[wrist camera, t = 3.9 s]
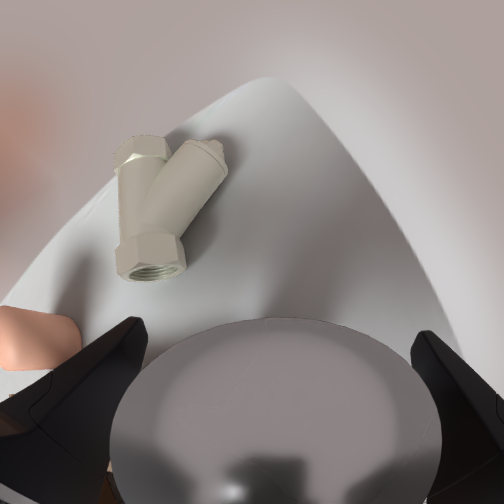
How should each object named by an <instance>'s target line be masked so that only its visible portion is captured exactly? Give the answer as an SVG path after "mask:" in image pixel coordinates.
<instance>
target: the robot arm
mask: <svg viewBox="0 0 504 504" xmlns="http://www.w3.org/2000/svg"><path fill="white" fill-rule="evenodd" d="M147 343H148V334H147V331H146V328H145V325H144V322H143V320H142V319H141V318H140V317H133V316H130V317H128V318H127V319H125V320H124V321H122V322H121V323H119V324H118V325H116V326H115V327H114V328H112V329H111V330H109V331H108V332H106V333H105V334H103V335H102V336H101V337H99V338H98V339H96V340H95V341H93V342H92V343H90V344H89V345H88V346H86V347H85V348H83V349H82V350H80V351H79V352H78V353H76V354H75V355H73V356H72V357H70V358H69V359H68V360H66V361H65V362H63V363H62V364H61V365H59V366H58V367H56V368H55V369H54V370H53V371H51V372H49V373H48V374H46V375H45V376H43V377H42V378H40V379H39V380H38V381H36V382H35V383H33V384H31V385H30V386H28V387H26V388H25V389H23V390H21V391H20V392H18V393H16V394H15V395H13V396H11V397H9V398H8V399H6V400H4V401H2V402H1V403H0V504H98V501H99V497H100V494H101V490H102V487H103V483H104V480H105V479H104V478H105V476H106V473H107V469H108V466H109V463H110V434H111V428H112V423H113V419H114V416H115V413H116V411H117V408H118V405H119V403H120V401H121V399H122V397H123V396H124V394H125V392H126V390H127V389H128V387H129V386H130V384H131V383H132V382H133V381H134V379H135V378H136V377H137V376H138V374H139V373H140V370H141V366H142V362H143V358H144V354H145V351H146V347H147ZM410 356H411V364H412V368H413V369H414V370H415V371H416V372H417V373H418V374H419V376H420V377H421V379H422V380H423V382H424V383H425V385H426V386H427V388H428V389H429V391H430V393H431V396H432V398H433V400H434V402H435V405H436V407H437V411H438V415H439V419H440V423H441V434H442V447H441V458H440V462H439V466H438V470H437V474H436V477H435V480H434V482H433V485H432V487H431V489H430V492H429V493H428V495H427V504H504V400H503V399H502V398H501V397H500V396H499V394H496V392H495V391H494V390H493V389H492V388H491V387H490V386H489V385H488V384H487V383H486V382H485V381H484V380H483V379H482V378H481V377H480V376H479V375H478V374H477V373H476V372H475V371H474V370H473V369H472V368H471V367H470V366H469V365H468V364H467V363H466V362H465V361H464V360H463V359H462V358H461V357H459V356H458V355H457V354H456V353H455V352H454V351H453V350H452V349H451V348H450V347H449V346H448V345H447V344H445V343H444V342H443V341H442V340H441V339H440V338H439V337H438V336H437V335H436V334H434V333H433V332H432V331H430V330H426V331H420V332H419V333H418V335H417V337H416V339H415V341H414V343H413V345H412V347H411V351H410Z"/></svg>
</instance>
